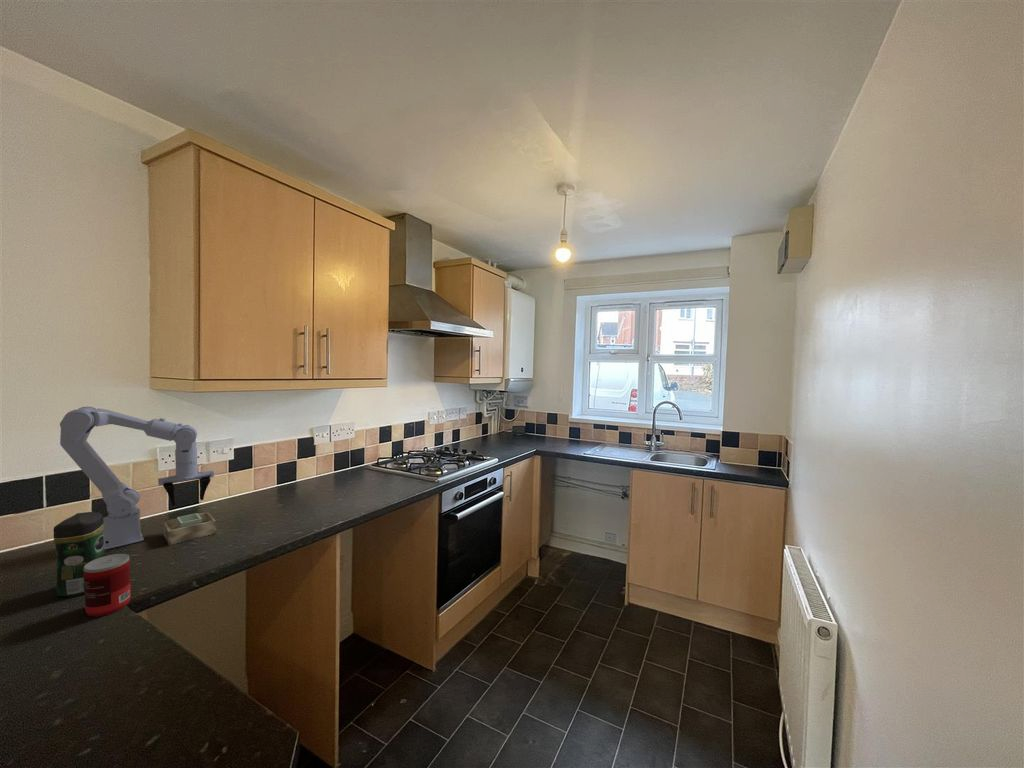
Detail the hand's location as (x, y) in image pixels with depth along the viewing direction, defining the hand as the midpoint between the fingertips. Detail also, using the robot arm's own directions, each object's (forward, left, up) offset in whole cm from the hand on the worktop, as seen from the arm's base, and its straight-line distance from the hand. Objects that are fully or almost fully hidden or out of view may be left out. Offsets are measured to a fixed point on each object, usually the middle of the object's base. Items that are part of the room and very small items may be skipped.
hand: (187, 501), depth 139 cm
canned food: (-21, -40, -10) cm, 47 cm away
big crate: (0, -4, -10) cm, 11 cm away
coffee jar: (-25, -24, -10) cm, 37 cm away
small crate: (0, -5, -9) cm, 10 cm away
